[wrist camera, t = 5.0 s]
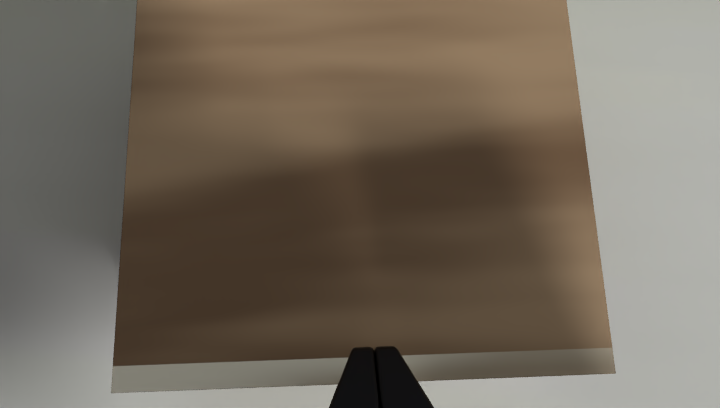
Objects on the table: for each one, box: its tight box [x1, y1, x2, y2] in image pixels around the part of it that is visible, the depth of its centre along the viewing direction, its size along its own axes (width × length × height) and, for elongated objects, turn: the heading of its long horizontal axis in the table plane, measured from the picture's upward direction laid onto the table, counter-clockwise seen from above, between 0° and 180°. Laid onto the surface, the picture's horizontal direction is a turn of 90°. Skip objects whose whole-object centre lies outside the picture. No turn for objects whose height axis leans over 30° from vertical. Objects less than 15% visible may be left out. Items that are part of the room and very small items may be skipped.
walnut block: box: [111, 0, 616, 393], centre depth 15 cm, size 4×12×11 cm
